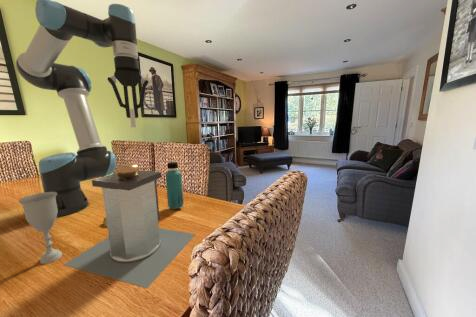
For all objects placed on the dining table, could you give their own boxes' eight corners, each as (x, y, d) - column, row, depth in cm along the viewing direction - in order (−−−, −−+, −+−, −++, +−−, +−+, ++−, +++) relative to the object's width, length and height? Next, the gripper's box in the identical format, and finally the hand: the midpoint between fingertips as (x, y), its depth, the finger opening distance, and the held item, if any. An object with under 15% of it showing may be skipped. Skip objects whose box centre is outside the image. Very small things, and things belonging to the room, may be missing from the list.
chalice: (49, 251, 58) (37, 192, 54) (74, 250, 58) (64, 191, 55) (25, 270, 50) (9, 203, 47) (54, 268, 51) (40, 202, 48)
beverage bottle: (179, 212, 81) (176, 164, 78) (164, 211, 83) (160, 163, 79) (186, 206, 88) (184, 161, 84) (172, 205, 89) (169, 160, 85)
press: (98, 258, 54) (86, 181, 50) (142, 227, 69) (136, 166, 65) (138, 267, 50) (128, 185, 46) (175, 233, 65) (170, 169, 61)
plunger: (109, 249, 55) (98, 168, 51) (135, 231, 64) (127, 161, 59) (137, 255, 52) (127, 170, 48) (160, 236, 61) (153, 162, 57)
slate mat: (63, 266, 52) (63, 264, 52) (131, 224, 72) (130, 223, 72) (147, 290, 44) (147, 288, 44) (195, 235, 65) (195, 234, 65)
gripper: (102, 52, 63) (112, 127, 68) (147, 57, 69) (153, 127, 74) (105, 58, 70) (113, 127, 74) (146, 63, 76) (151, 126, 80)
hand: (133, 127), depth 74 cm, fingers closed
